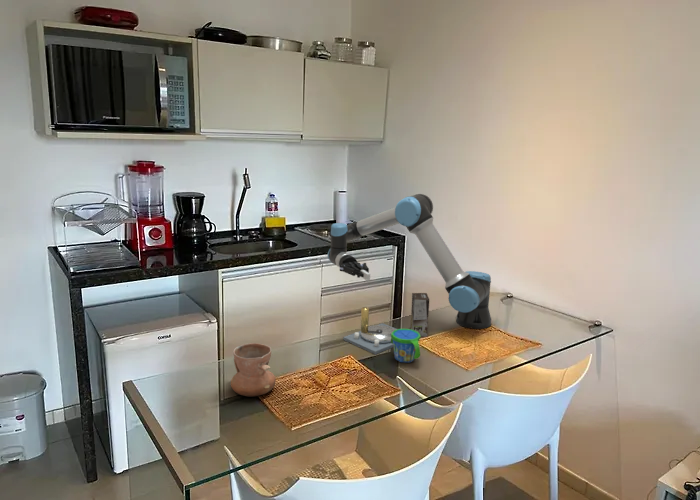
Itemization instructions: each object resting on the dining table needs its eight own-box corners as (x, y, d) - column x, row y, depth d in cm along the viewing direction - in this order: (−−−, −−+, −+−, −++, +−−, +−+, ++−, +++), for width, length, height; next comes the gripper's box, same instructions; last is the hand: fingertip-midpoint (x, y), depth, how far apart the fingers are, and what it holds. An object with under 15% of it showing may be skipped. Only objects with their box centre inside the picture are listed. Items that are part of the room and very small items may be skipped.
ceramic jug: (286, 392, 174) (286, 351, 170) (249, 407, 164) (247, 364, 161) (255, 373, 186) (254, 335, 183) (219, 387, 176) (217, 347, 173)
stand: (414, 338, 218) (414, 329, 217) (375, 354, 202) (375, 345, 201) (382, 325, 230) (382, 317, 229) (343, 339, 215) (343, 331, 214)
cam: (405, 336, 216) (406, 309, 213) (379, 346, 206) (380, 318, 203) (378, 325, 226) (379, 300, 223) (353, 334, 216) (353, 308, 213)
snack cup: (427, 365, 194) (429, 339, 192) (402, 370, 190) (403, 344, 187) (406, 348, 208) (407, 324, 205) (382, 352, 204) (383, 328, 201)
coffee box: (427, 336, 220) (429, 299, 216) (412, 336, 220) (413, 299, 216) (425, 328, 228) (427, 292, 225) (410, 327, 229) (411, 292, 225)
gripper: (359, 269, 243) (382, 284, 222) (332, 271, 238) (353, 287, 217) (359, 253, 241) (383, 267, 220) (333, 255, 236) (354, 270, 215)
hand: (368, 277), depth 218 cm, fingers closed
